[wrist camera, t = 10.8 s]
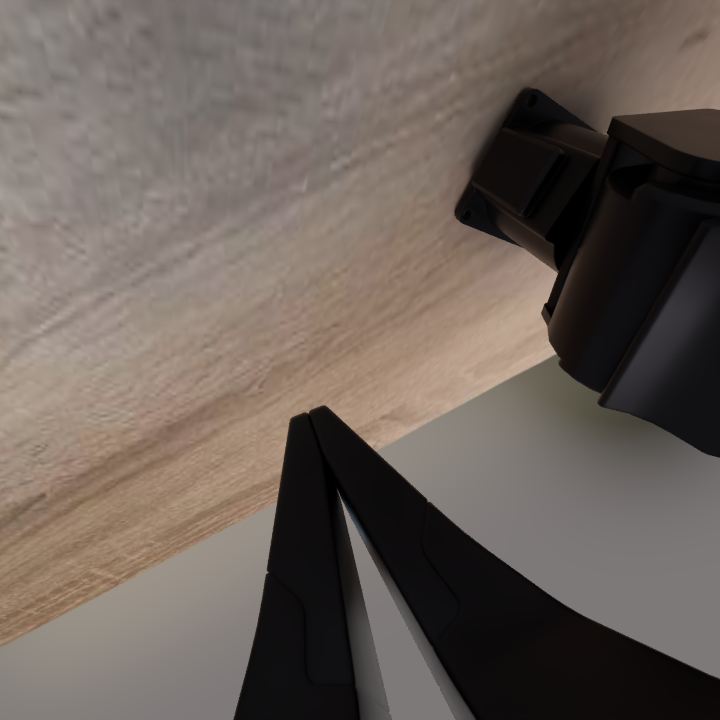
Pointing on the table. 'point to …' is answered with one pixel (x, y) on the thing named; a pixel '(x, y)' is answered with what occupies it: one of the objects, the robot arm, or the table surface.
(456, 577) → the robot arm
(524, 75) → the table surface
